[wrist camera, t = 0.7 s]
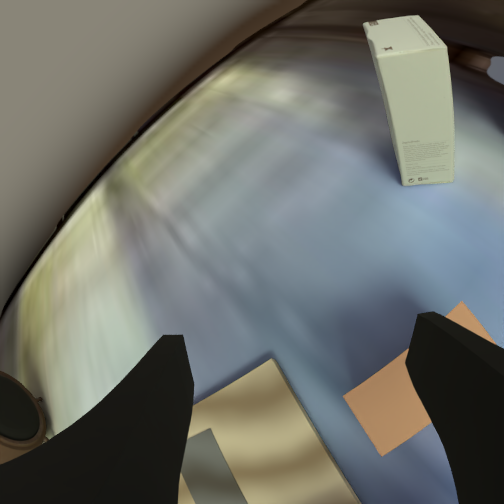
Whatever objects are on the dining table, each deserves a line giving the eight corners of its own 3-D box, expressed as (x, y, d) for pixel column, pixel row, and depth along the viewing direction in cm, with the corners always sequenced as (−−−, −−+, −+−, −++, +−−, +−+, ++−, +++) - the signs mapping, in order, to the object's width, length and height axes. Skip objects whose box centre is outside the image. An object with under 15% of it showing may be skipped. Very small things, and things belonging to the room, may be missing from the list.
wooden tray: (367, 513, 16) (361, 530, 13) (194, 565, 18) (169, 577, 15) (275, 360, 26) (256, 351, 23) (136, 438, 28) (108, 436, 24)
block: (477, 370, 18) (504, 355, 13) (385, 443, 19) (381, 456, 13) (446, 329, 21) (461, 300, 15) (356, 399, 22) (342, 395, 16)
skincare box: (454, 183, 26) (455, 49, 14) (398, 188, 28) (374, 56, 17) (436, 128, 29) (421, 11, 18) (388, 133, 32) (359, 18, 21)
